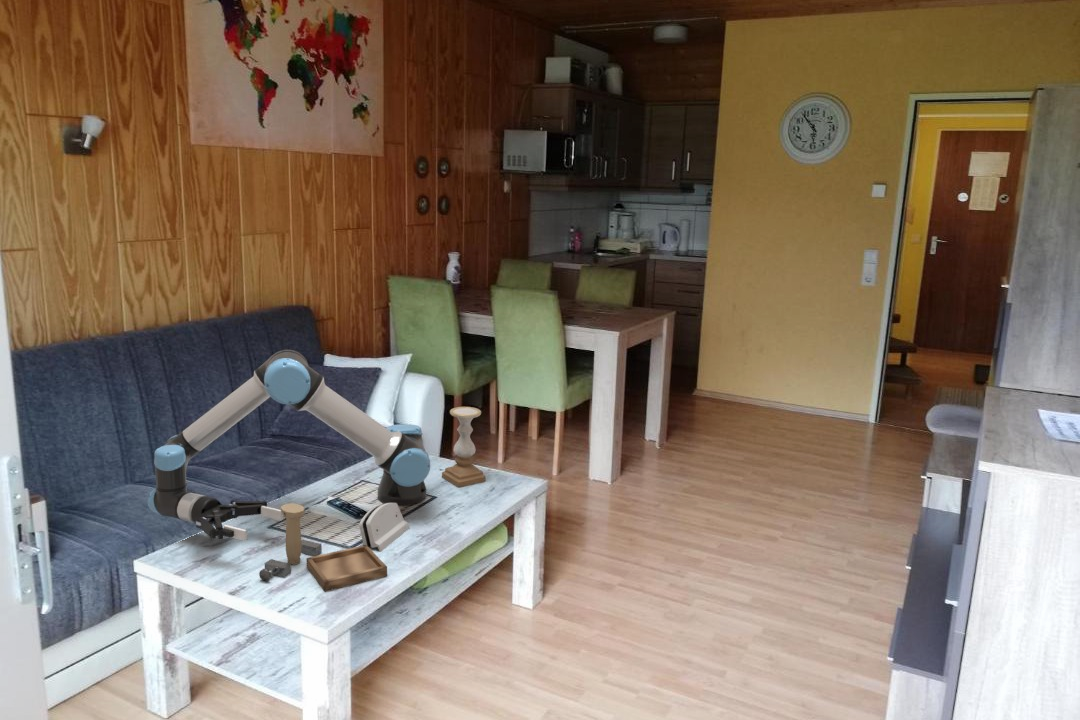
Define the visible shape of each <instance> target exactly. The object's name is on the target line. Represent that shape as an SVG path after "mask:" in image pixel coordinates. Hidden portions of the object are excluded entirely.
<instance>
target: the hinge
mask: <svg viewBox="0 0 1080 720" xmlns="http://www.w3.org/2000/svg"><path fill="white" fill-rule="evenodd" d="M358 527H359V531H360V535H361V540H362V544H363V545H367V546H368V547H369V548H370V549H372V548H377V549H378V552H380V553H381V552H382V551H383V550H385V549H386V548H387V547H388V546H390V545H391V544H392V543H393V542H395V541H397V539H398V538H400V537H401V536H403V534H405V533H406V532H407V531H408V530H410V525H409V522H407V520H404V517H403V514H402V513H401V510H400V507H399V505H397V503H381V504H379V505H376V506H374V507H372V508H371V509H369V510H368V511H367V512H366V513H365V515H364V516H363V517H362V518H361V520H360V522H359V524H358ZM404 532H405V533H404ZM363 545H362V546H363Z"/></svg>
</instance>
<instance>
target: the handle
mask: <svg viewBox="0 0 1080 720" xmlns="http://www.w3.org/2000/svg"><path fill="white" fill-rule="evenodd" d="M280 510H281V512H282V515H283V517H285V520H286V521H285V552H286V558H287V563H288V564H291V565H297V564H300V562H301V555H302V553H301V547H302V541H301V540H302V530H301V518H300V517H302V516H303V515H305V513H306V511H305V507H304V506H303V505H301V504H298V503H291V502H290V503H286V504H283V505H281V506H280Z"/></svg>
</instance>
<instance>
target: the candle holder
mask: <svg viewBox="0 0 1080 720" xmlns="http://www.w3.org/2000/svg"><path fill="white" fill-rule="evenodd" d="M449 414H450V415H451V416H452V417H455V418H457V420H458V421H459V426H458V427H457V428H456V431H457V432H458V434H459V438H458V440H457V441H456V442H455V443H454V446H453V453H454V455H455V458H454V462H455V464H454V465H452V466H450V467H446V468H445V469H444V471H442V472H441V479H444V480H445V481H446V482H448V483H450V484H451V485H453V486H454V487H456V488H464V487H467V486H474V485H476V484H481V483H485V482H486V481H487V480H486V475H485V474H484V472H483V471H482V470H480V469H479V468H478V467H476V466H475V465H474V464H473V462H474V457H473V456H474V454H476V446H475V444H474V442H473V441H472V439H471V434H472V432H473V431H474V428H473V427H472V425H471V422H472V420H473V419H474V418H478V417H480V416H481V414H482V410H480V409H479V408H477V407H473V406H472V407H471V406H458V407H457V406H456V407H453V408H451V409H450V410H449Z"/></svg>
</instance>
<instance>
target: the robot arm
mask: <svg viewBox="0 0 1080 720" xmlns="http://www.w3.org/2000/svg"><path fill="white" fill-rule="evenodd" d="M269 398H271V399H273V400H274V401H275V402H277V403H278V404H282V405H288V406H290V407H291V408H293V409H294V410H296V411H297V412H300V411H301V412H302V411H306V412H308V413H310V414H311V415H313V416H314V417H316V418H317V419H318V420H320V421H321V422H323V423H325V424H326V425H327V426H329V427H330V428H331V429H333V430H335V431H336V432H338V433H339V434H341V435H342V436H343V437H345V438H346V439H348V440H349V441H351V443H353V444H355V445H356V446H358V447H359V448H361V449H362V450H363V451H365V452H366V453H368V454H370V455H371V456H373V458H374V463H375V465H376V466H378V467H379V468H381V469H382V470H383V474H382V475H381V479H380V481H379V485H378V487H377V499H378V500H379V501H380V502H381V503H383V502H384V503H383V504H386V503H397V505H398V506H410V505H409V504H411V505H416V504H418V503H421V502H423V501H424V500H426V498H427V486H426V483H425V480H426V479H427V477H428V476H429V474H430V471H431V458H430V456H429V454H428V452H427V451H426V449H425V447H424V445H423V443H422V442H423V441H422V439H423V438H422V436H423V430H422V427H420V426H419V425H416V424H407V423H405V424H404V423H402V424H400V423H399V424H393V425H392V424H391V425H388V426H384V425H382V424H381V423H380V422H378V421H376V420H375V419H374V418H372V417H371V416H370V415H368V414H367V413H365V412H364V411H363V410H361V409H360V408H358V407H357V406H356V405H354V404H353V403H351V401H350V402H349V400H347V399H346V398H345V397H343V396H341V395H340V394H338V393H337V392H336V391H335V390H333V389H331V388H330V387H329V386H327V385H326V384H325V378H324V376H322V375H321V374H320V373H318V372H317V371H316V370H314V369H313V368H312V367H311V366H309V363H308V360H307V359H306V357H305V356H304V355H302V354H301V353H300V352H298V351H296V350H293V349H282V350H278V351H277V352H275V353H274V354H272V355H271V356H270V357H269V358H268V359H267V360H266V361H265V362H263V364H261V365H260V366H259V367H257V368H256V369H255V370H254V372H253V376H252V377H250V378H249V379H248V380H247V381H246V382H244V383H242V384H241V385H240V386H239V387H238V388H236V389H235V390H233V392H231V393H230V394H229V395H227V396H226V397H225V398H224V399H222V400H221V401H219V402H218V403H217V404H215V405H214V406H213V407H211V408H210V409H209V410H208V411H207V412H205V413H204V414H203V415H202V416H200V417H199V418H198V419H196V420H195V421H193V422H192V424H190V425H189V426H188V427H186V428H185V429H183V431H182V432H180V433H178V434H175V435H173V436H171V437H169V438H168V440H167V441H166V442H165V443H164V445H162V446H160V447H157V448H156V449H155V451H154V460H153V464H154V472H155V483H156V485H155V486H156V487H155V488H153V489H152V490H151V491H150V492H149V497H148V499H147V505H148V509H150V511H151V512H153V513H155V514H158V515H160V516H162V517H170V518H174V519H178V520H182V521H186V522H189V523H192V524H195V527H196V528H198V529H200V530H202V531H203V533H204V534H206V536H208V537H209V538H210V539H212V540H214V539H216V538H218V539H217V540H223V539H224V537H226V538H230V539H236V540H239V541H243V542H246V541H247V540H248V537H247V536H248V535H247V533H248V532H247V529H243V528H239V527H235V526H232V525H227V524H225V525H223V523H224V522H226V521H228V520H231V519H238V517H245V516H259V515H260V517H263V518H268V519H271V520H276V521H282V520H284V519H283V517H284V516H283V514H282V512H281V509H278V508H274V507H270V506H268V501H264V500H263V501H261V500H259V501H255V500H250V501H247V500H234V499H232V500H230V504H222V503H221V502H220V500H219V499H217V498H215V497H211V496H206V495H203V494H198V493H194V492H190V491H187V490H188V487H187V485H188V483H187V467H188V464H189V462H190V461H191V459H192V458H194V457H195V456H197V454H199V453H201V451H202V450H203V449H205V448H206V447H208V446H210V444H211V443H213V442H214V441H215V440H216V439H218V438H219V437H220V436H222V435H223V434H225V433H226V432H227V431H228V430H229V429H231V428H232V427H233V426H234V425H235V424H237V423H239V422H240V421H241V420H242V419H244V418H245V417H246V416H247V415H249V414H250V413H252V412H253V411H254V410H256V409H257V408H258V407H259V406H261V405H262V404H263V403H264V402H266V401H267V400H268V399H269ZM415 503H416V504H415ZM233 512H234V514H233ZM213 525H214V526H213Z"/></svg>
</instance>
